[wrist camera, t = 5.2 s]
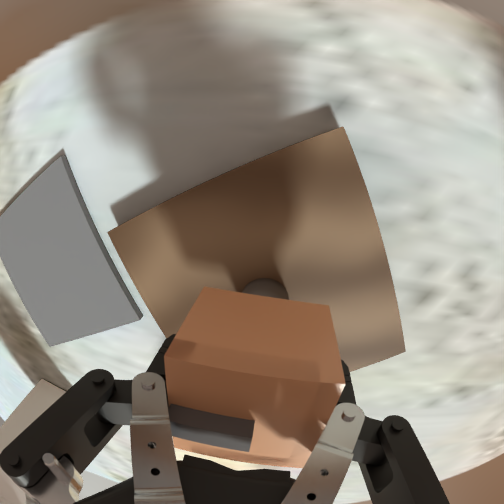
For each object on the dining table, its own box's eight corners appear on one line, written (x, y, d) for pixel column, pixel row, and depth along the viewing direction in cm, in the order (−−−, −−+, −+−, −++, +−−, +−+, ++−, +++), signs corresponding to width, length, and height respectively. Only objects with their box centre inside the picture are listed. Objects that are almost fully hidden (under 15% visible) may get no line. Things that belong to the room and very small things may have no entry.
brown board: (399, 340, 20) (439, 427, 12) (215, 392, 24) (190, 476, 15) (338, 128, 16) (388, 108, 7) (118, 226, 19) (31, 276, 11)
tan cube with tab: (328, 305, 13) (349, 402, 7) (302, 392, 15) (303, 482, 9) (204, 286, 13) (154, 372, 8) (200, 375, 15) (169, 461, 10)
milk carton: (42, 377, 28) (-35, 472, 10) (83, 398, 28) (9, 512, 10) (55, 410, 30) (-5, 498, 13) (95, 429, 30) (38, 530, 12)
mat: (143, 316, 22) (140, 320, 21) (52, 343, 25) (49, 346, 24) (65, 155, 18) (60, 156, 18) (-7, 227, 21) (-11, 229, 21)
